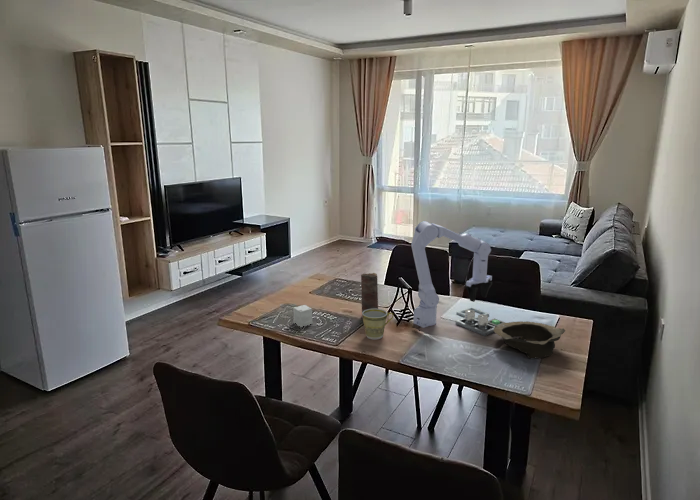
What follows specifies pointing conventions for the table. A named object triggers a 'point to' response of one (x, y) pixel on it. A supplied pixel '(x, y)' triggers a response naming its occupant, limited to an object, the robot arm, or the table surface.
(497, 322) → the button
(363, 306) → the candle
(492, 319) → the button housing
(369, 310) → the ceramic cup
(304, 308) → the skincare box
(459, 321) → the pallet
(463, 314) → the grey square frame
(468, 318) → the billet
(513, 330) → the stone bowl
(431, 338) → the table surface
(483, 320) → the billet
